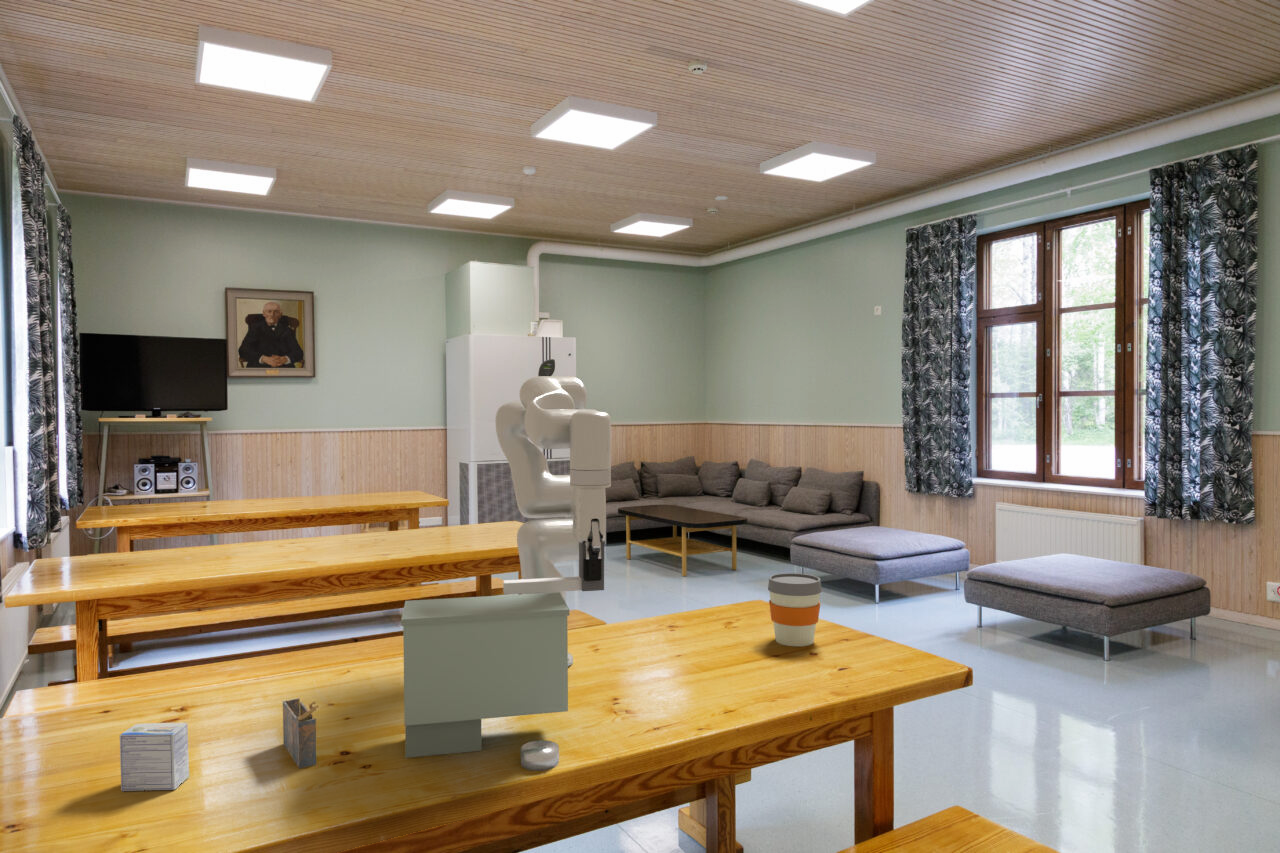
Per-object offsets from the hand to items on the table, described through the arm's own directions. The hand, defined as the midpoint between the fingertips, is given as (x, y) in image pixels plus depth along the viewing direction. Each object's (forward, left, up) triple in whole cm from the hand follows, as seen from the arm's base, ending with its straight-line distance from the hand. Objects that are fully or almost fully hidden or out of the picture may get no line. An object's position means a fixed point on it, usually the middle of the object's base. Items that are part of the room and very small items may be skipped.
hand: (590, 576), depth 152 cm
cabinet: (+9, -19, -25) cm, 33 cm away
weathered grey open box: (+8, -49, -26) cm, 56 cm away
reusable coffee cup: (-33, +55, -25) cm, 68 cm away
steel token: (+20, -12, -25) cm, 34 cm away
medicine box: (+14, -68, -25) cm, 74 cm away
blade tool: (0, -7, -2) cm, 7 cm away
